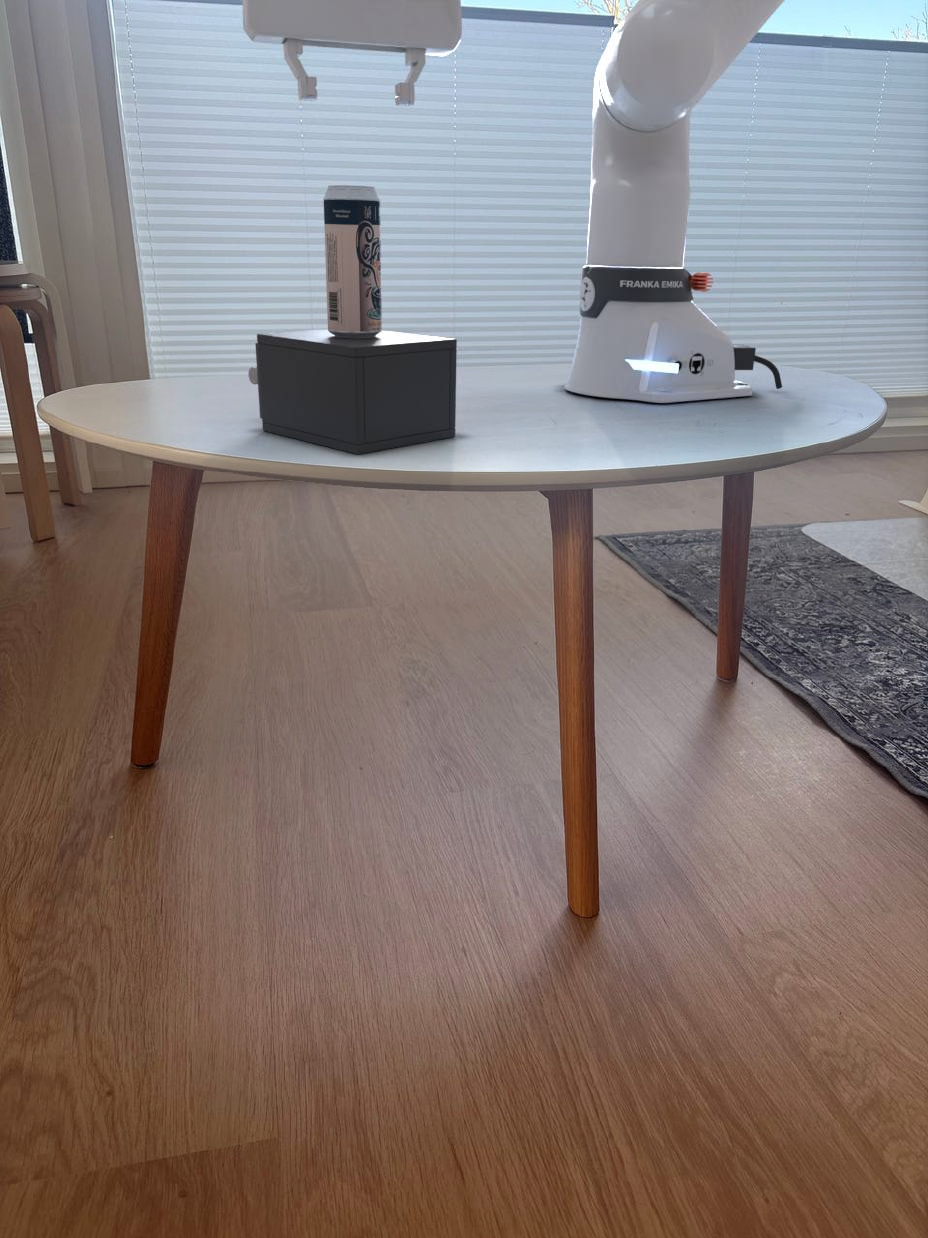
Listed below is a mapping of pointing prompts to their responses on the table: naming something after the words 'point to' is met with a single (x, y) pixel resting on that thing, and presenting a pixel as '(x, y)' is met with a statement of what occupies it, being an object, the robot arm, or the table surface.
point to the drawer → (256, 378)
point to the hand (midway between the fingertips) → (357, 102)
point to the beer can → (353, 261)
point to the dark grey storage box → (358, 388)
